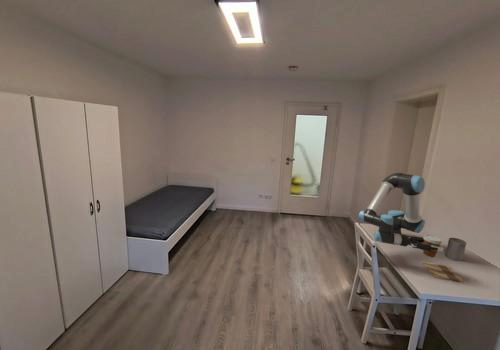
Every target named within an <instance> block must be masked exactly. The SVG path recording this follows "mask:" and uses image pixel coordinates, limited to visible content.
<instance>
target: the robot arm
mask: <svg viewBox="0 0 500 350" xmlns="http://www.w3.org/2000/svg"><path fill="white" fill-rule="evenodd" d="M425 185H426V181H425V179H424V178H423V177H422V176H420V175H417V174H409V173H402V172H394V173H392V174H389V175H388V176H386V177H385V178H384V179H383V180H382V182H381V183H380V187H379V189H378V190H377V192H376V193H375V195H374V196H373V198H372V200H371V202H370V203H369V204H368V206H367V208H366V209H365V210H360V212H359V214H358V219H359V220H360V221H361V222H363V223H366V224H369V225H373V226H375V227H378V230H374V232H373V240H374V241H375V242H377V243H378V242H379V243H383V244H390V245H394V246H401V247H407V246H411V247H412V248H413V249H419V250H422V251H423V250H426V251H430V252H431V250H434V251H437V252H441V253H444V249H445V248H444V247H442V246H439V247H437V246H429V245H425V244H424V238H423V237H421V236H414V235H412V236H410V235H407V234H403V233H402V229H403V230H406V231H410V232H413V233H416V234H420V233H421V232H422V231H423V229H424V227H425V223H426V220H424V219H422V216H421V214H420V194H421V193H423V192H424V190H425ZM396 188H398V189H401V191H402V194H404V202H405V212H404V211H403V210H398V209H396V210H395V209H394V210H393V209H391V210H388V212H387V214H384V213H383V214H381V215H378V213H379V212H380V210H381V209H382V206H383V205H384V204H385V202H386V200H387V198H388V197H389V196H390V194H391V192H392V191H394V190H395V189H396Z"/></svg>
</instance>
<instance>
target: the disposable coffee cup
mask: <svg viewBox="0 0 500 350" xmlns="http://www.w3.org/2000/svg"><path fill="white" fill-rule="evenodd" d="M422 238H424V243H423V244H425V245H429V246H437V247H441V244H442V243H443V242H442V239H441V238H440V237H437V236H435V235H430V234H424V236H423V237H422ZM422 251H423V252H422V253H423V255H425V256H426V257H430V258H435V257H436V255H437V253H438V251H434V250H431V252H430V251H426V250H422Z"/></svg>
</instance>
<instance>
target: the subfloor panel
mask: <svg viewBox="0 0 500 350" xmlns="http://www.w3.org/2000/svg"><path fill="white" fill-rule="evenodd" d="M422 264H423V266H424V267H425V268H426V269H427V271H428V272H429V274H430V275H431V276H432V277H433V278H437V279H441V280H447V281H451V282H458V283H463V284H465V280H463V279H462V277H460V275H459V274H457V272H456V271H455V270H454V269H453V268H452V266H449V265H443V264H437V263H432V262H427V261H426V262H425V261H422Z"/></svg>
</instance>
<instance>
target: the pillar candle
mask: <svg viewBox="0 0 500 350" xmlns="http://www.w3.org/2000/svg"><path fill="white" fill-rule="evenodd" d="M466 246H467V242H466V241H465V240H463V239H460V238H456V237H449V238H448V242H447V246H446V249H445V252H444V255H445V257H446V258H448V259H450V260H453V261H456V262H459V261H460V262H462V261H463V258H464V255H465V250H466Z"/></svg>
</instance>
